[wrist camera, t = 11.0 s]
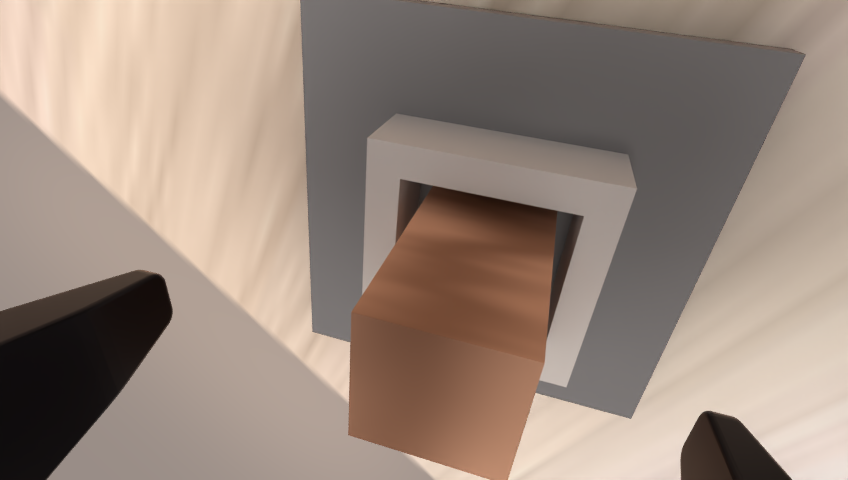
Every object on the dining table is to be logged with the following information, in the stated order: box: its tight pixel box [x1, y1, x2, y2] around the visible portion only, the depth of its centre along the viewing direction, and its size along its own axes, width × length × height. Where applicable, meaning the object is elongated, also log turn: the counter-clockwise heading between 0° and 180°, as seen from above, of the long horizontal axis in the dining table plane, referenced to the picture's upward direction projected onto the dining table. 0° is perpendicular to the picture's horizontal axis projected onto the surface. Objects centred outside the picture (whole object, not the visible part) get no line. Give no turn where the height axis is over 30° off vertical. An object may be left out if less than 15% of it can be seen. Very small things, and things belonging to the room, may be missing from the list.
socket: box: [300, 0, 805, 419], centre depth 19 cm, size 16×16×4 cm
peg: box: [348, 186, 557, 480], centre depth 16 cm, size 4×4×9 cm
